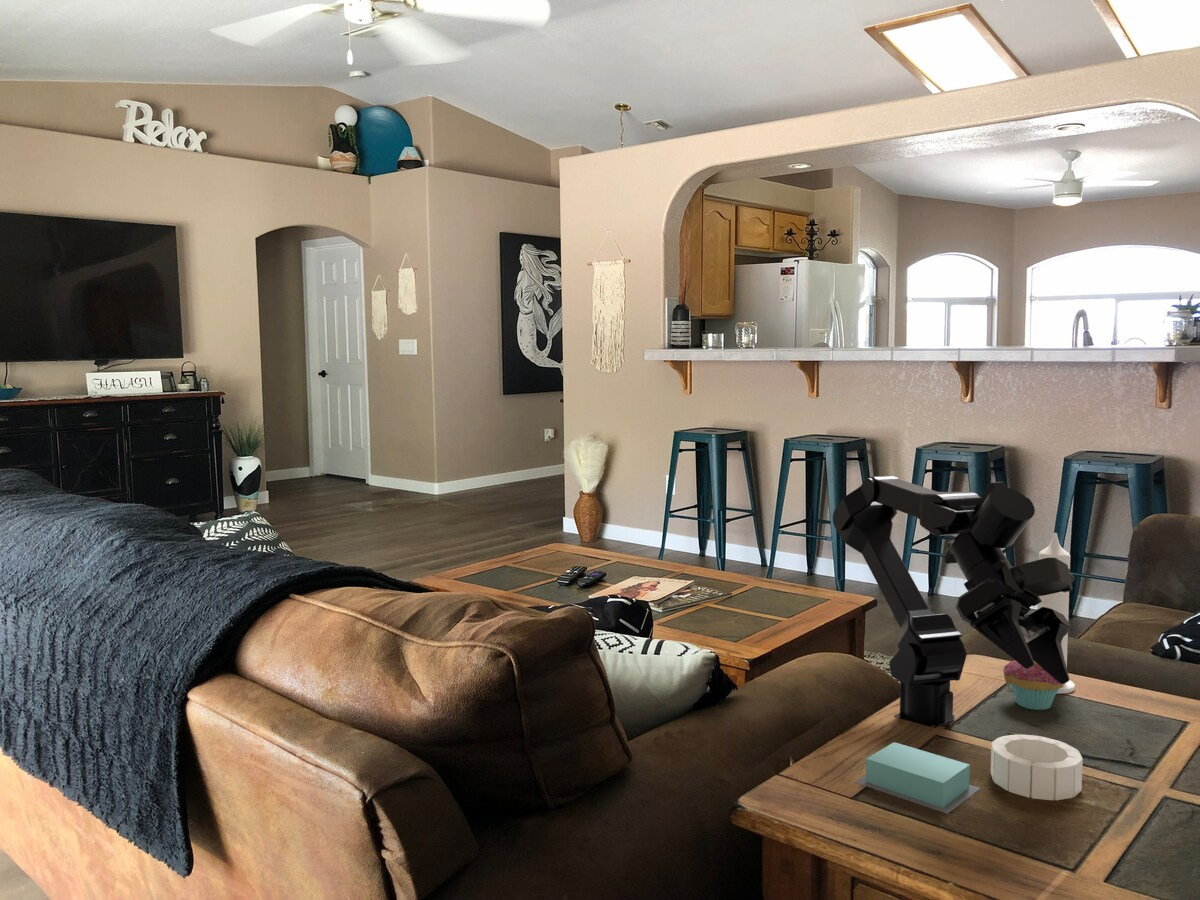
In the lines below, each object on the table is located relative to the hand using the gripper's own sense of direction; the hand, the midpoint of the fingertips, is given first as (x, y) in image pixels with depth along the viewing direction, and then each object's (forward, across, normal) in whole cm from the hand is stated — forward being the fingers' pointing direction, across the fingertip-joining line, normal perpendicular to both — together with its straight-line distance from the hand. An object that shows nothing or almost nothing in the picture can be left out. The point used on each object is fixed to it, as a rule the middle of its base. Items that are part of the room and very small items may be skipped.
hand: (1048, 675), depth 115 cm
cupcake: (-10, +32, +14) cm, 36 cm away
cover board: (+5, -4, +20) cm, 21 cm away
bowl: (+8, +7, +10) cm, 15 cm away
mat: (+6, -4, +20) cm, 21 cm away
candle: (-14, +40, +13) cm, 45 cm away
